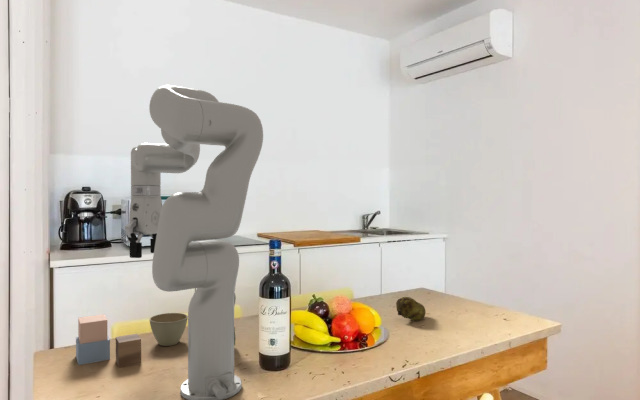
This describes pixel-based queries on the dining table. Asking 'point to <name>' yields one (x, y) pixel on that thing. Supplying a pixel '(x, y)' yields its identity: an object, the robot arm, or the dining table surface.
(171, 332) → the olive grey bowl
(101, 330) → the tower top
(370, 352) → the dining table surface
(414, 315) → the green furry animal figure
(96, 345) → the tower base
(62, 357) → the dining table surface
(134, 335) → the walnut block
